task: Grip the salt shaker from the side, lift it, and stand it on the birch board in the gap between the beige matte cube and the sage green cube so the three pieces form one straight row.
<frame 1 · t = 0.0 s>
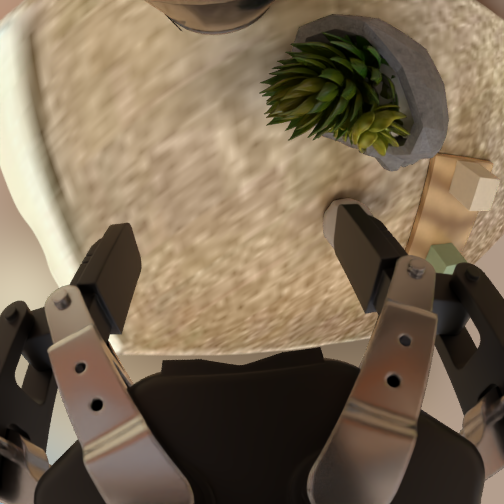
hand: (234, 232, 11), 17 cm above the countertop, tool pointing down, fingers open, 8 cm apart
beige matte cube: (464, 177, 28), point 1 cm above the countertop, touching wood board
potted plant: (333, 88, 22), on the countertop
sage green cube: (436, 255, 36), point 1 cm above the countertop, touching wood board
wood board: (447, 215, 33), on the countertop
salt shaker: (340, 212, 31), on the countertop
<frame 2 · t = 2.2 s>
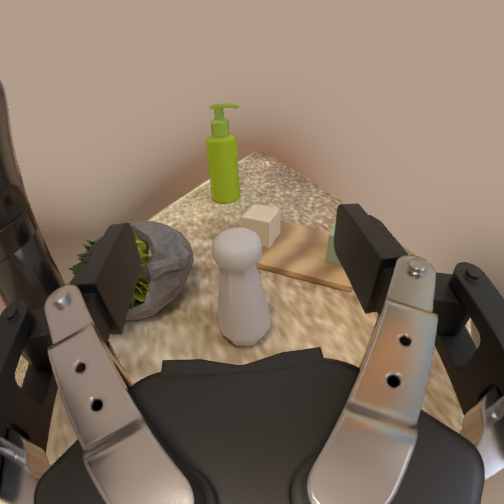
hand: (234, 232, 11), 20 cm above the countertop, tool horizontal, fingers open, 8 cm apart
beige matte cube: (261, 237, 45), point 1 cm above the countertop, touching wood board
potted plant: (144, 306, 36), on the countertop
soap dispenser: (228, 198, 60), on the countertop
sage green cube: (343, 256, 40), point 1 cm above the countertop, touching wood board
wood board: (301, 252, 43), on the countertop
salt shaker: (245, 333, 32), on the countertop
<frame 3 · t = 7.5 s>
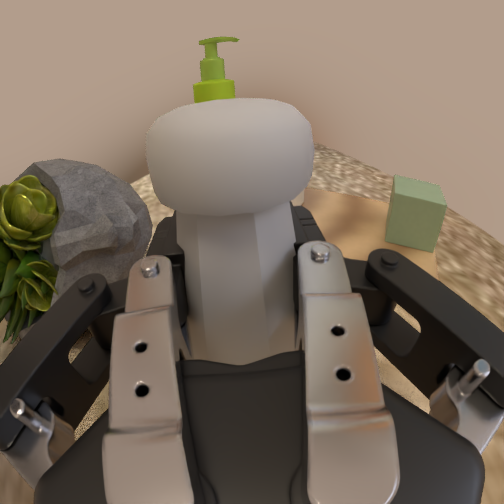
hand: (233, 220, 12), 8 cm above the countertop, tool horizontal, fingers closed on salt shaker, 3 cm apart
potted plant: (71, 320, 18), on the countertop
soap dispenser: (224, 165, 43), on the countertop
sage green cube: (408, 234, 23), point 1 cm above the countertop, touching wood board
wood board: (340, 228, 26), on the countertop
salt shaker: (251, 385, 14), on the countertop, touching gripper
when the fingers open (9 cm above the countertop, at t = 15.2 s): salt shaker stays where it is, resting on wood board.
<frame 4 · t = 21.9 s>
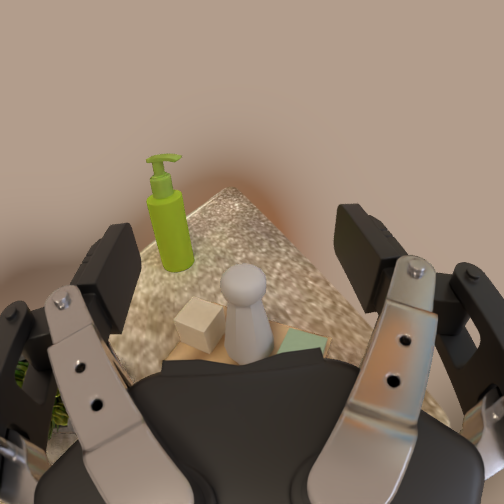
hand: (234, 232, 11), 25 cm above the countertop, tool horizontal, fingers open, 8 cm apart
beige matte cube: (204, 335, 36), point 1 cm above the countertop, touching wood board
potted plant: (77, 414, 26), on the countertop
soap dispenser: (181, 263, 51), on the countertop
sage green cube: (298, 369, 31), point 1 cm above the countertop, touching wood board
wood board: (249, 357, 34), on the countertop
salt shaker: (250, 354, 34), point 1 cm above the countertop, touching wood board
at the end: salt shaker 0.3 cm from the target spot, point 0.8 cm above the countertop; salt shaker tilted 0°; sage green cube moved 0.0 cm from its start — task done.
